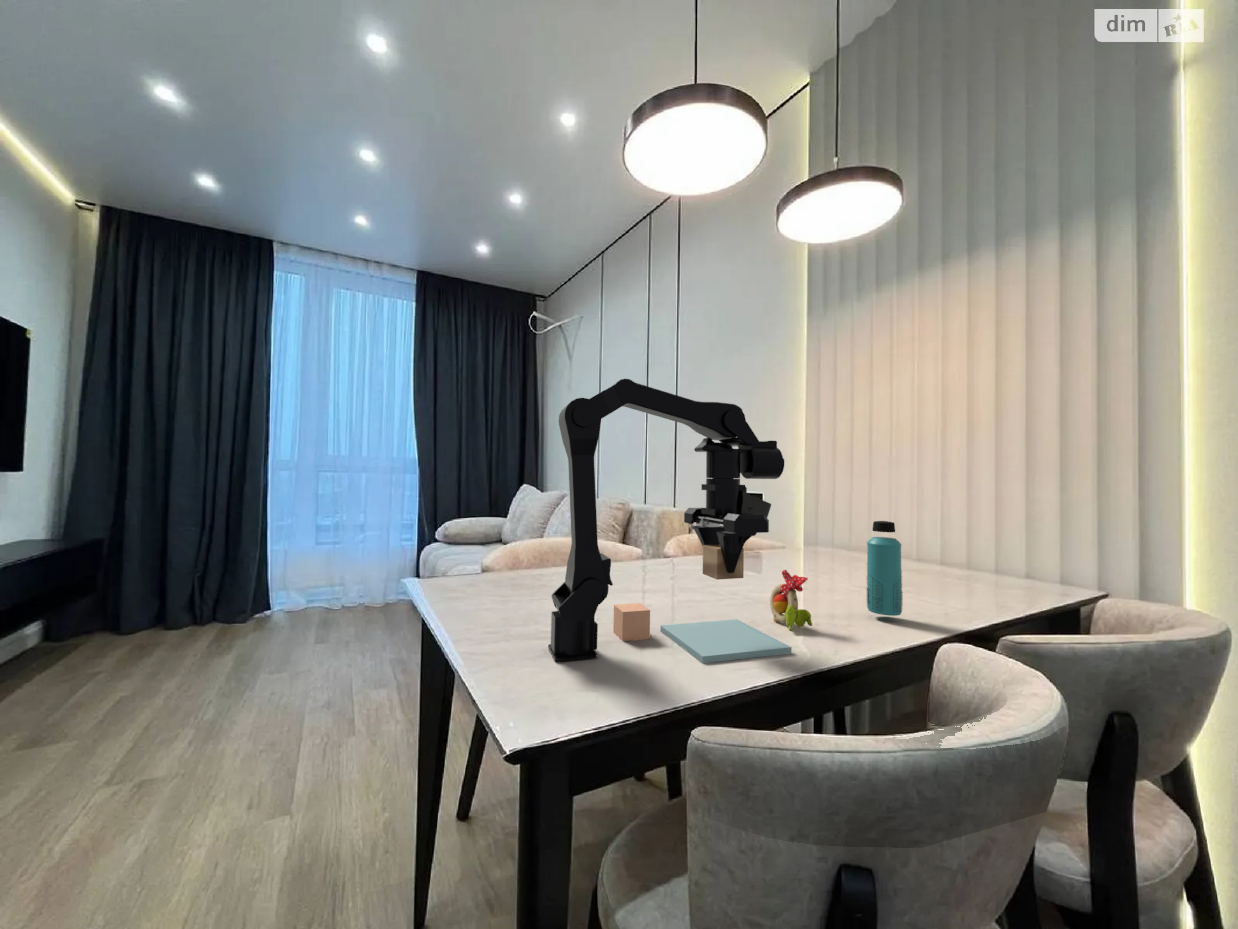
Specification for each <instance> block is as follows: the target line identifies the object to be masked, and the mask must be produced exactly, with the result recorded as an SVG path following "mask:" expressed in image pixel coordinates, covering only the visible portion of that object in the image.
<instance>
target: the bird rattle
mask: <svg viewBox="0 0 1238 929" xmlns="http://www.w3.org/2000/svg"><path fill="white" fill-rule="evenodd" d="M781 575H782V577H783V579H784V581H785V583H783V584H782V583H780V584H778V585H776V586H775V587H774V588H773V589H772V591H771V594H770V598H769V603H770V604H769V605H770V610H771V613H772V615H773V622H774V623H786V626H787V627H788V631H792V629H793V626H794V625H796V627H798V628H802V627H805V624H806V623H807V625H808V626H809V627H812V626H813V622H812V614H811V612H810V611H809V610H807V609H803V608H802V609H801V608H800V609H798V608H799V600H798V595H797V592H803V590H804V588H803V587H802V585H803V584H805V583H806V581H808V579H809V578H808V577H805V576H799V575H797V574H793V575H791V574H790V572H789V571H788V570H787V569H783V570H782V571H781Z"/></svg>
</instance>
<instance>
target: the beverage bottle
mask: <svg viewBox="0 0 1238 929" xmlns="http://www.w3.org/2000/svg"><path fill="white" fill-rule="evenodd" d="M872 531H873V532H877V533H879V532H880V533H896V526H895V522H893V521H887V520H875V521H873V522H872ZM866 545H867V548H866V549H867V551H866V552H867V554H866V555H867V557H866V561H867V562H866V574H867V575H866V581H865V582H866V585H867V586H866V607H867V609H868V611H869V612H871V613H873V614H876V615H877V614H878V615H881V616H889V617H891V616H892V617H893V616H894V617H895V616H896V617H897V616H901V615H902V612H903V600H904V599H903V575H902V574H903V571H902V543H901V542H900V541H899V540H898V539H896V538H894V537H886V536H873V537H871V538H870V539H868V541H867V542H866Z"/></svg>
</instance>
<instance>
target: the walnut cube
mask: <svg viewBox="0 0 1238 929" xmlns="http://www.w3.org/2000/svg"><path fill="white" fill-rule="evenodd" d="M744 565H745V564H744V547H743V548H742V551H741V554H740V557H739V560H738V562H737V565H736V568H735V571H734V573H728V572H727V569H726V566H725V563H724V559H723V555H722V551H721V547H720V544H718V545H703V546H702V574H703V575H705V576H707V577H709V578H712V579H714V580H731V579H744V572H745V571H744Z"/></svg>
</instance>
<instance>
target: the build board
mask: <svg viewBox="0 0 1238 929" xmlns="http://www.w3.org/2000/svg"><path fill="white" fill-rule="evenodd" d="M659 627H660V628H659V629H660V630H659V631H660V632H661V633H662V634H664V635H665V636H666V637H668V639H670V640H672V641H673V642H674V643H675V644H677V645H678V646H679V647H680V648H682V649H683V650H685V651H686V652H687V653H689V654H690V655H691V656H692V657H694V658H695V659H696V660H697V661H699V662H700V663H701V664H707V663H718V662H723V661H724V662H725V661H733V660H745V659H753V658H763V657H771V656H779V654H782V655H790V654H792V646H790V645H788V644H786V643H784V642H783V641H780V640H778V639H777V638H775V637H773V636H771V635H769V634H767V633H766V632H763V631H760V630H759V629H757V628H756V627H753V626H751V625H750V624H747V623H746V622H743V621H742V620H739V619H738V618H737V619H735V618H734V619H725V620H724V619H722V620H713V621H711V620H710V621H699V622H688V623H687V622H685V623H674V624H661V625H660V626H659Z"/></svg>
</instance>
